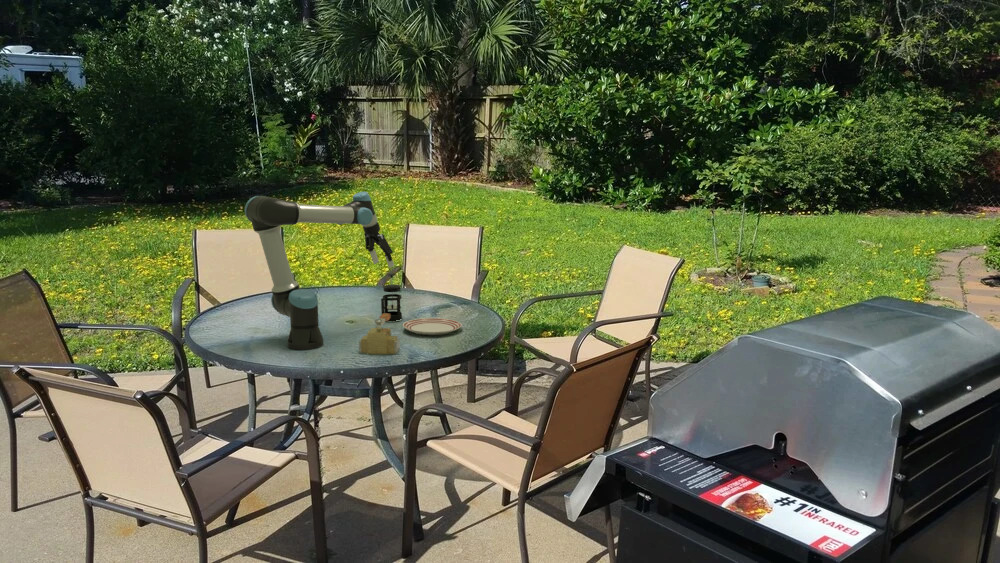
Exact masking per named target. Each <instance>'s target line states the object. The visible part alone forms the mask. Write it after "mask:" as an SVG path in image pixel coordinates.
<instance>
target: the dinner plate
mask: <svg viewBox="0 0 1000 563" xmlns="http://www.w3.org/2000/svg"><path fill="white" fill-rule="evenodd" d="M462 326H463V324H462V323H461V322H459V320H458V321H457V320H454V319H451V318H443V317H441V318H439V317H422V318H415V319H410V320H407V321H404V322H403V323H402V327H403V328H404V329H405V330H407V331H409V332H411V333H414V334H417V335H421V334H422V336H441V334H443V335H446V333H447V334H450V333H451V332H454V331H457V330H458V329H461V328H462ZM449 332H450V333H449Z"/></svg>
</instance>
